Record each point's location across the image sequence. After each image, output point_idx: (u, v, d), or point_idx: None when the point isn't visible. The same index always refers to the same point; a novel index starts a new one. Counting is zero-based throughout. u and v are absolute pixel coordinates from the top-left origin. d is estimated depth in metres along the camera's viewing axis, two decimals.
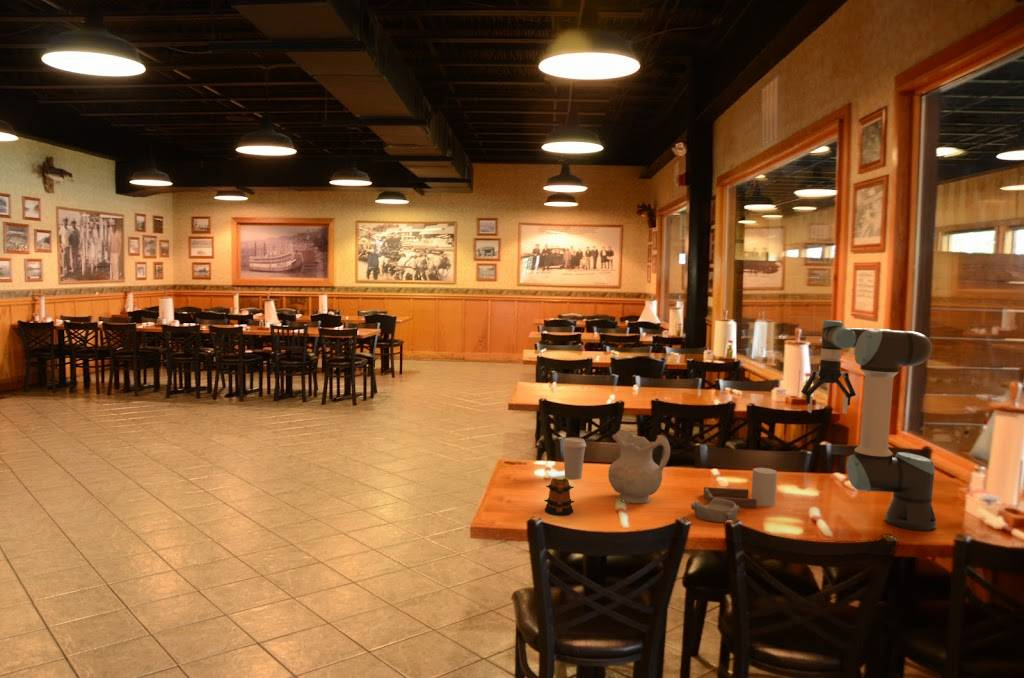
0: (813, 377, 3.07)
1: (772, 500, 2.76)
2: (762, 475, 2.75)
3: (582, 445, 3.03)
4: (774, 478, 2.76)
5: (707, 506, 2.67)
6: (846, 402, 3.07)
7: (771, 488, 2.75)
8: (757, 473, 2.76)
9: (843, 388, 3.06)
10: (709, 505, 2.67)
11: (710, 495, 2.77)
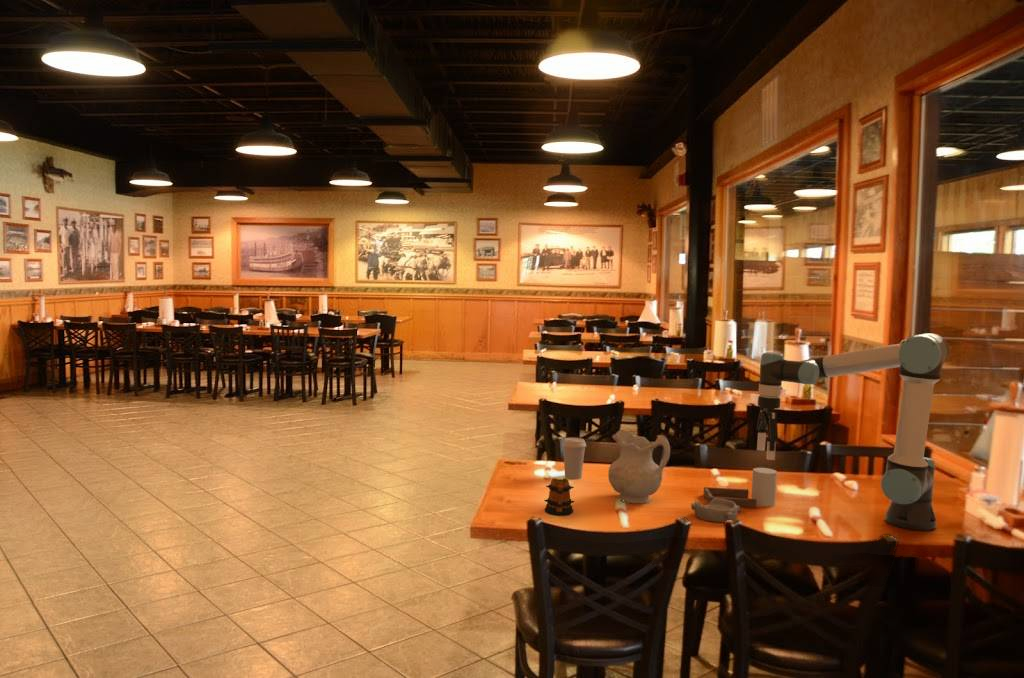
0: (760, 412, 2.83)
1: (772, 500, 2.76)
2: (762, 475, 2.75)
3: (582, 445, 3.03)
4: (774, 478, 2.76)
5: (707, 506, 2.67)
6: None
7: (771, 488, 2.75)
8: (757, 473, 2.76)
9: (767, 429, 2.72)
10: (709, 505, 2.67)
11: (710, 495, 2.77)
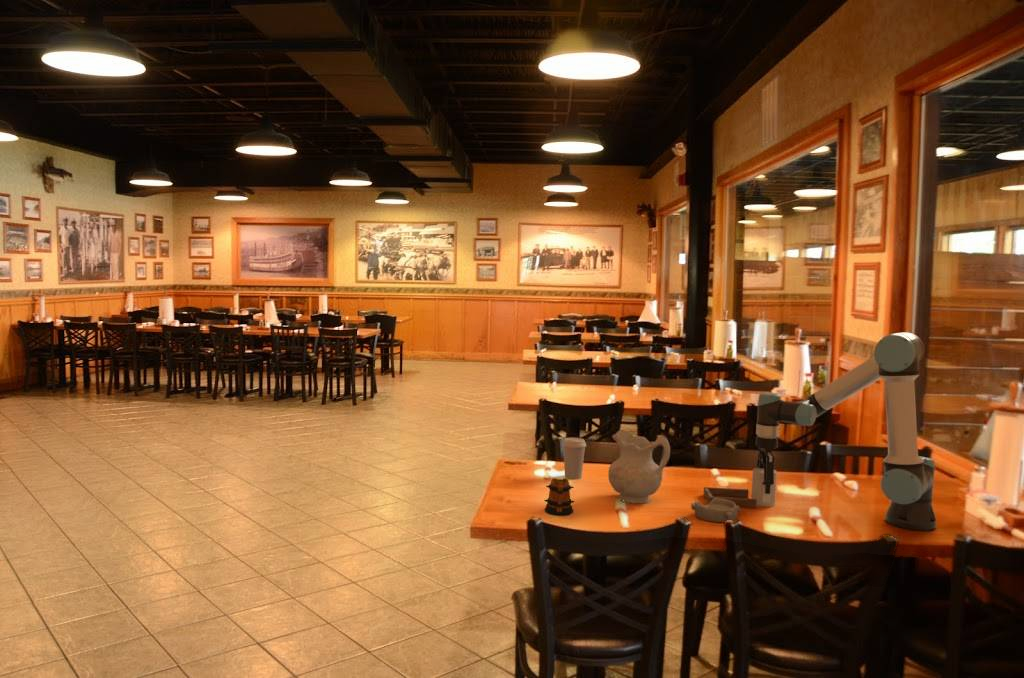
0: (758, 454, 2.84)
1: (772, 500, 2.76)
2: (762, 475, 2.75)
3: (582, 445, 3.03)
4: (774, 478, 2.76)
5: (707, 506, 2.67)
6: (763, 489, 2.75)
7: None
8: (757, 473, 2.76)
9: (764, 471, 2.75)
10: (709, 505, 2.67)
11: (710, 495, 2.77)
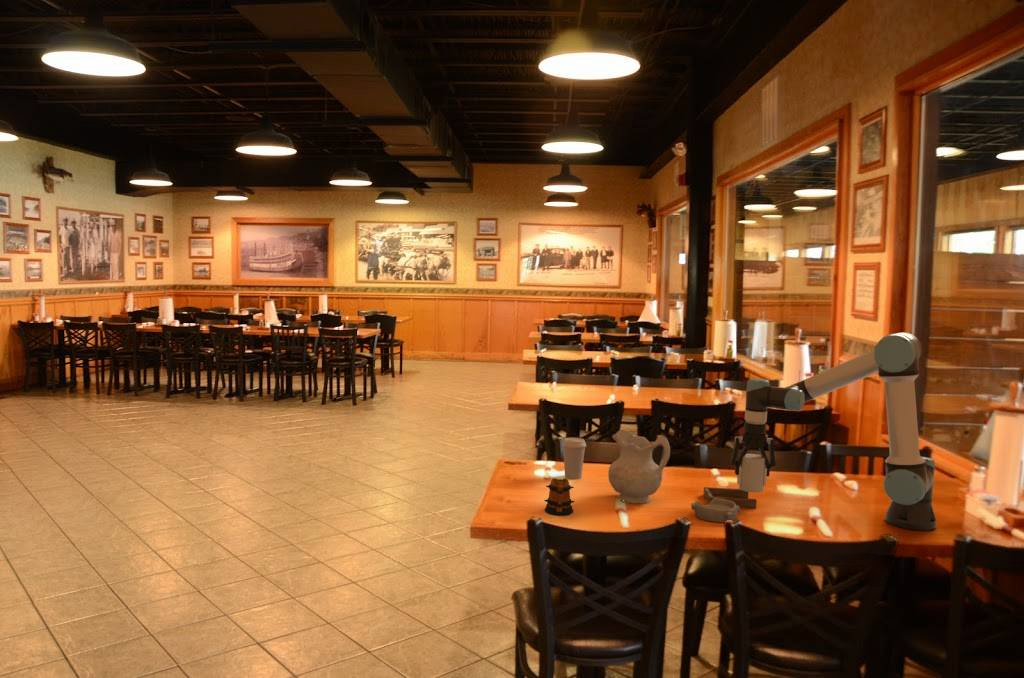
0: (737, 444, 2.77)
1: None
2: (764, 460, 2.77)
3: (582, 445, 3.03)
4: None
5: (707, 506, 2.67)
6: (765, 473, 2.78)
7: None
8: (762, 460, 2.75)
9: (764, 456, 2.77)
10: (709, 505, 2.67)
11: (710, 495, 2.77)
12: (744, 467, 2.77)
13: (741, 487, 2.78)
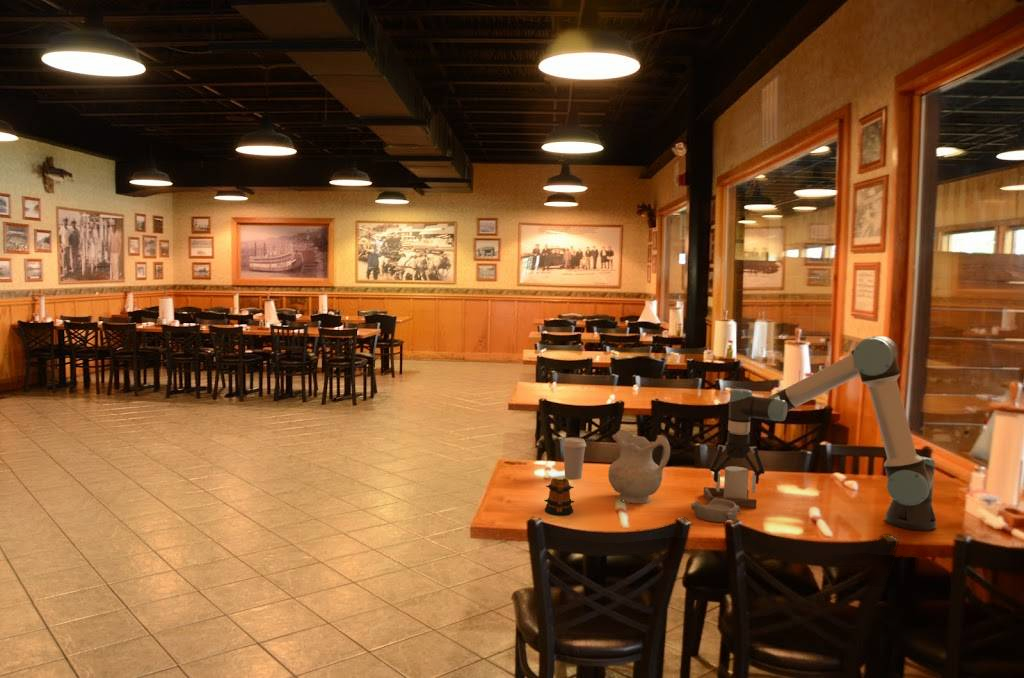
0: (720, 452, 2.78)
1: None
2: (748, 473, 2.77)
3: (582, 445, 3.03)
4: None
5: (707, 506, 2.67)
6: (754, 480, 2.78)
7: None
8: (745, 473, 2.76)
9: (751, 465, 2.78)
10: (709, 505, 2.67)
11: (710, 495, 2.77)
12: (728, 480, 2.78)
13: None
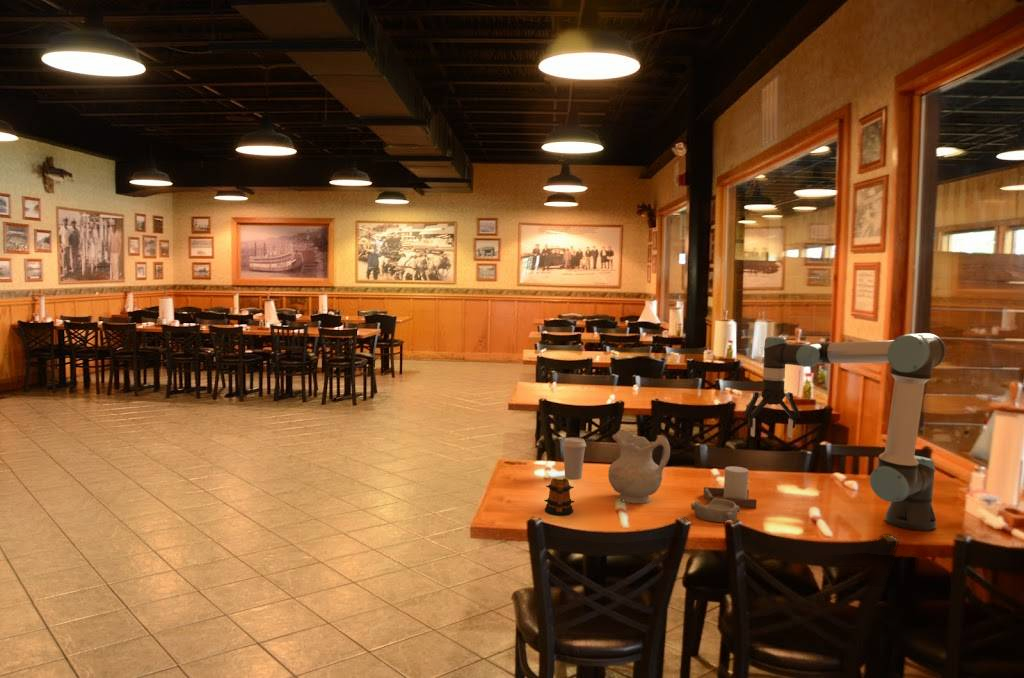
0: (755, 398, 2.84)
1: None
2: (748, 472, 2.77)
3: (582, 445, 3.03)
4: None
5: (707, 506, 2.67)
6: (791, 425, 2.84)
7: None
8: (745, 473, 2.76)
9: (787, 410, 2.84)
10: (709, 505, 2.67)
11: (710, 495, 2.77)
12: (728, 480, 2.78)
13: None
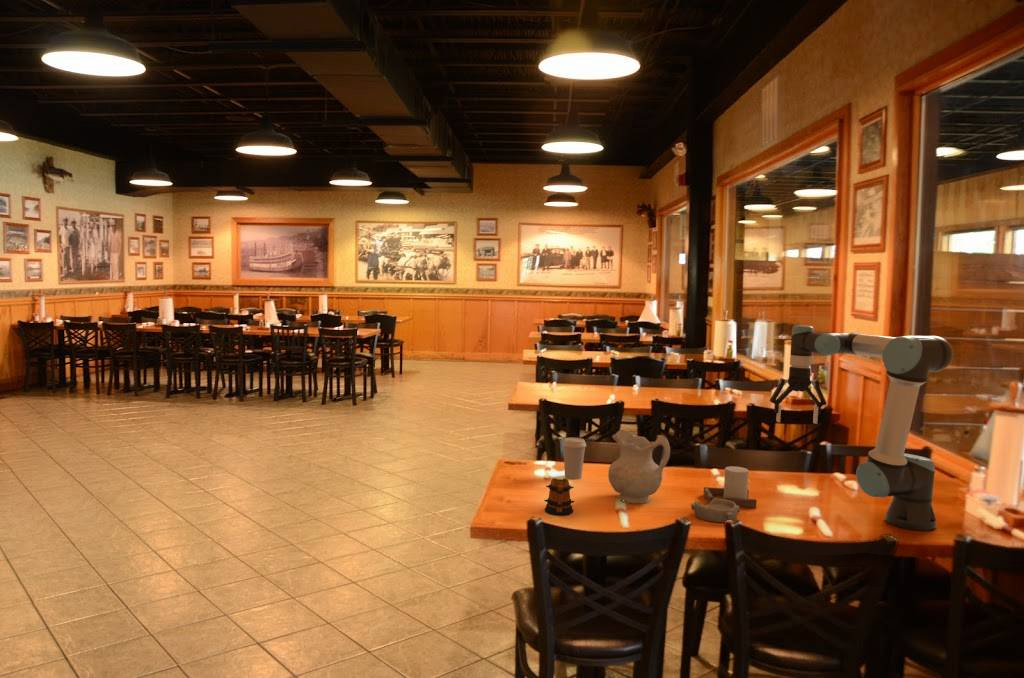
0: (782, 385, 2.91)
1: None
2: (748, 472, 2.77)
3: (582, 445, 3.03)
4: None
5: (707, 506, 2.67)
6: (816, 411, 2.91)
7: None
8: (745, 473, 2.76)
9: (813, 397, 2.91)
10: (709, 505, 2.67)
11: (710, 495, 2.77)
12: (728, 480, 2.78)
13: None
